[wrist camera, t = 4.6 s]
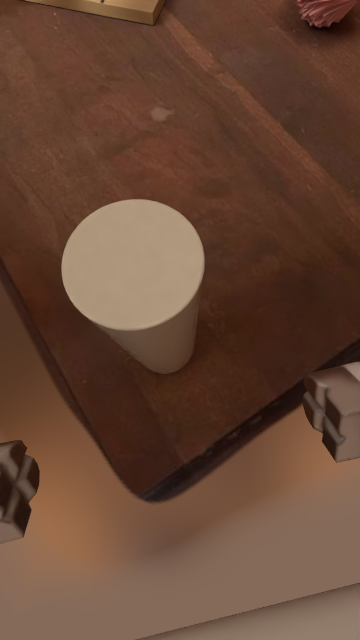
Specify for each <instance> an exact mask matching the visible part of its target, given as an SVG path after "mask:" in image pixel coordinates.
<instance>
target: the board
mask: <svg viewBox="0 0 360 640" xmlns="http://www.w3.org/2000/svg"><path fill="white" fill-rule="evenodd" d="M24 1H30V2H35V3H40V4H45V5H50V6H56V7H61V8H66V9H71V10H76V11H82V12H87V13H92V14H97V15H102V16H107V17H113V18H118V19H123V20H128V21H133V22H139V23H144V24H149V25H154V24H155V22H156V20H157V18H158V15H159V13H160V11H161V9H162V7H163V5H164V3H165V1H166V0H24Z"/></svg>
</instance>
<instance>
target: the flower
mask: <svg viewBox="0 0 360 640" xmlns="http://www.w3.org/2000/svg"><path fill="white" fill-rule="evenodd" d="M357 2H358V0H297V1H296V5H298V6H299V7H300V8H301V11H300V12H299V13H300V14H302V15H303V16H302V17H301V19H304V20H307V22H309V24H310V26H313V25H314V26H315V27H317V26H318V27H319V28H320V27H322V26H326V27H330V25H331V23H332V22H340V20H341V18H344V16H345V14H347V12H349V10H350V9H352V8H353V6H354V5H355V4H356V3H357Z"/></svg>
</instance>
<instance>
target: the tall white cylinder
mask: <svg viewBox="0 0 360 640" xmlns="http://www.w3.org/2000/svg"><path fill="white" fill-rule="evenodd" d="M204 267H205V256H204V250H203V245H202V243H201V240H200V237H199V235H198V234H197V232H196V230H195V229H194V227H193V226H192V224H191V223H190V222H189V221H188V220H187V219H186V218H185V217H184V216H183V215H181V214H180V213H179V212H177V211H176V210H174V209H173V208H171V207H169V206H167V205H164V204H162V203H158V202H155V201H150V200H142V199H131V200H123V201H118V202H115V203H111V204H109V205H106V206H104V207H102V208H100V209H98V210H96V211H95V212H93V213H92V214H90V215H89V216H88V217H86V218H85V219H84V220H83V221H82V222H81V223H80V224H79V225H78V226H77V227H76V229H75V230H74V232H73V233H72V234H71V236H70V238H69V240H68V242H67V244H66V247H65V249H64V253H63V257H62V279H63V284H64V287H65V290H66V293H67V295H68V296H69V298H70V300H71V302H72V303H73V304H74V306H75V307H76V308H77V309H78V310H79V311H80V312H81V313H82V314H83V315H84V316H85V317H86V318H88V319H89V320H90V321H91V322H92V323H94V324H95V325H96V326H97V327H98V328H99V329H101V330H102V331H103V332H104V333H105V334H107V335H108V336H109V337H110V338H111V339H113V340H114V341H115V342H116V343H117V344H118V345H120V346H121V347H122V348H123V349H124V350H126V351H127V352H128V353H129V354H130V355H132V356H133V357H134V358H135V359H136V360H137V361H139V362H140V363H141V364H142V365H143V366H145V367H146V368H147V369H149V370H151V371H153V372H156V373H162V374H166V373H172V372H175V371H177V370H179V369H181V368H182V367H184V366H185V365H186V364H187V363H188V361H189V360H190V359H191V357H192V354H193V352H194V347H195V339H196V331H197V323H198V315H199V308H200V300H201V292H202V284H203V276H204Z"/></svg>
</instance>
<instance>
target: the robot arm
mask: <svg viewBox="0 0 360 640" xmlns="http://www.w3.org/2000/svg"><path fill="white" fill-rule="evenodd" d="M304 386H305V387H306V389H307V392H306V393H305V394H304V396H303V407H304V410H305V414H306V416H307V418H308V420H309V422H310V424H311V425H312V427H313V428H314V429H316V430H317V431H319V432H321V433H323V438H322V442H323V443H324V445H325V446H326V448H327V449H328V451H329V452H330V454H331V455H332V457H333V458H334V460H335V461H336V462H341V461H346V460H352V459H356V458H360V362H354V363H350V364H346V365H342V366H337V367H333V368H329V369H325V370H321V371H316V372H312V373H308V374H306V375H305V377H304ZM26 449H27V447H26V446H25V445H24V443H23V442H22V441H21V440H15V441H10V442H6V443H0V544H1V543H5V542H8V541H12V540H16V539H19V538H23V537H24V534H25V530H26V527H27V524H28V520H29V517H30V513H31V508H30V506H29V502H30V500H31V499H32V498H33V497H34V496H35V494H36V493H37V489H38V486H39V472H40V471H39V468H38V465H37V463H36V461H35V460H34V458H32V457H30V456H27V455H25V452H26ZM136 640H360V583H357V584H353V585H350V586H346V587H342V588H337V589H333V590H329V591H326V592H322V593H318V594H314V595H310V596H306V597H302V598H298V599H294V600H290V601H286V602H282V603H278V604H275V605H271V606H267V607H263V608H259V609H255V610H251V611H247V612H243V613H239V614H235V615H231V616H227V617H224V618H219V619H215V620H211V621H207V622H203V623H200V624H195V625H192V626H188V627H184V628H180V629H176V630H172V631H168V632H164V633H160V634H156V635H152V636H148V637H144V638H140V639H136Z"/></svg>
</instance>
